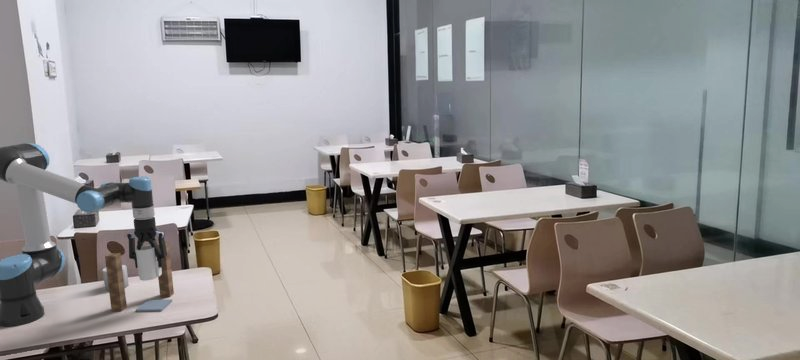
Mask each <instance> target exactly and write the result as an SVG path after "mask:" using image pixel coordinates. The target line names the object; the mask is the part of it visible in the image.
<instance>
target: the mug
mask: <svg viewBox="0 0 800 360" xmlns="http://www.w3.org/2000/svg"><path fill="white" fill-rule="evenodd" d="M135 252H136V257H137V264H138V268H137V272H138V271H139V275H138V277H139V281H140V280H141V281H143V282H144V281H145V282H146V281H151V280H155V279H157V278H158V277H157V272H156V262H155V260H156V259H157V257H156V255H155V250H154V248H152V246H151V244H148V245H143V246H142V247H141V250H138V248H137V247H135Z"/></svg>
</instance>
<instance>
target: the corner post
mask: <svg viewBox="0 0 800 360" xmlns="http://www.w3.org/2000/svg"><path fill="white" fill-rule="evenodd" d="M104 260H105V262H104V263H105V268H106V270H107V278H108V286H109V291H108V292H109V300H110V309H111V312H123V311H124V310H125V309H126V308H127V306H128V305H127V297H126V288H125V287H124V279H123V270H122V265H123V264H122V255H121V253H120V252H116V253H115V252H114V253H111V252H110V253H108V254H106V255H105V256H104Z"/></svg>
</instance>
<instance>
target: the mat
mask: <svg viewBox="0 0 800 360" xmlns="http://www.w3.org/2000/svg"><path fill="white" fill-rule="evenodd" d="M172 302H173V299H146V300H145V302H143V303H142V304H141V305H139V306H138V307H137V308H136V309H135V312H136V313H139V312H140V313H142V312H143V313H144V312H146V313H147V312H163V311H164V310H165V309H166V308H167V307H168V306H169V305H170V304H171V303H172Z"/></svg>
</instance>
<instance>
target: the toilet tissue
mask: <svg viewBox="0 0 800 360" xmlns="http://www.w3.org/2000/svg"><path fill="white" fill-rule="evenodd" d="M122 270H123V279H124V287H125V289H126V288H127V287H129V285H130V284H129V275H128V267H127V265H126V264H122ZM102 275H103V277H102V278H103V283H104V289H105V291H108V292H109V286H108V278H107V270H106V267H104V268H103V269H102Z"/></svg>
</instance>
